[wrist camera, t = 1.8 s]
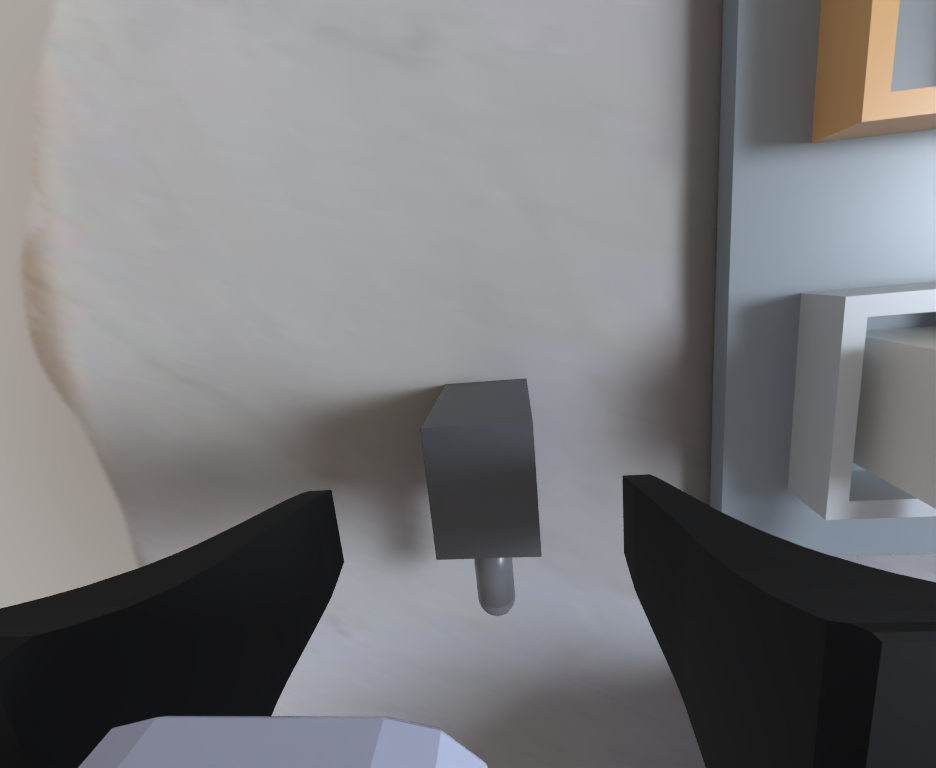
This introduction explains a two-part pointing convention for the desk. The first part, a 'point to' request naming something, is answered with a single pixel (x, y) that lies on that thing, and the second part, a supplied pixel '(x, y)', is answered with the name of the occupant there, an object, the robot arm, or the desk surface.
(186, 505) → the desk surface
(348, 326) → the desk surface
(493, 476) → the dark gray plug
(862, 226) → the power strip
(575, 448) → the desk surface
